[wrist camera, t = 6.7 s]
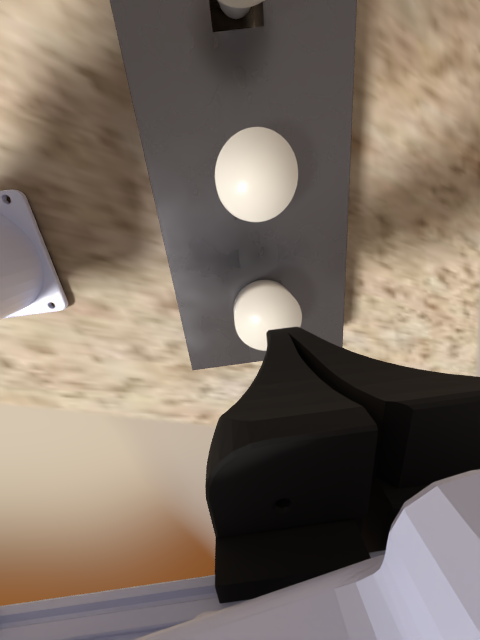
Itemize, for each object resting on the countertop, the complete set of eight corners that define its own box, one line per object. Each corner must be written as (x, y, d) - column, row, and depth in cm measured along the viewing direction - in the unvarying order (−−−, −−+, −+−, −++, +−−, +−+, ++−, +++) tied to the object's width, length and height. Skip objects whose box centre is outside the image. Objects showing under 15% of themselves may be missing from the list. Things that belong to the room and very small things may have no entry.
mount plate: (196, 350, 21) (192, 370, 19) (110, -61, 12) (78, -139, 10) (326, 332, 21) (342, 349, 19) (332, -86, 13) (363, -170, 10)
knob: (235, 323, 20) (238, 354, 16) (228, 274, 19) (230, 292, 14) (284, 316, 20) (302, 346, 16) (282, 267, 19) (301, 283, 14)
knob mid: (221, 223, 18) (221, 226, 13) (212, 155, 16) (208, 132, 11) (279, 216, 18) (299, 216, 13) (275, 148, 16) (296, 121, 12)
